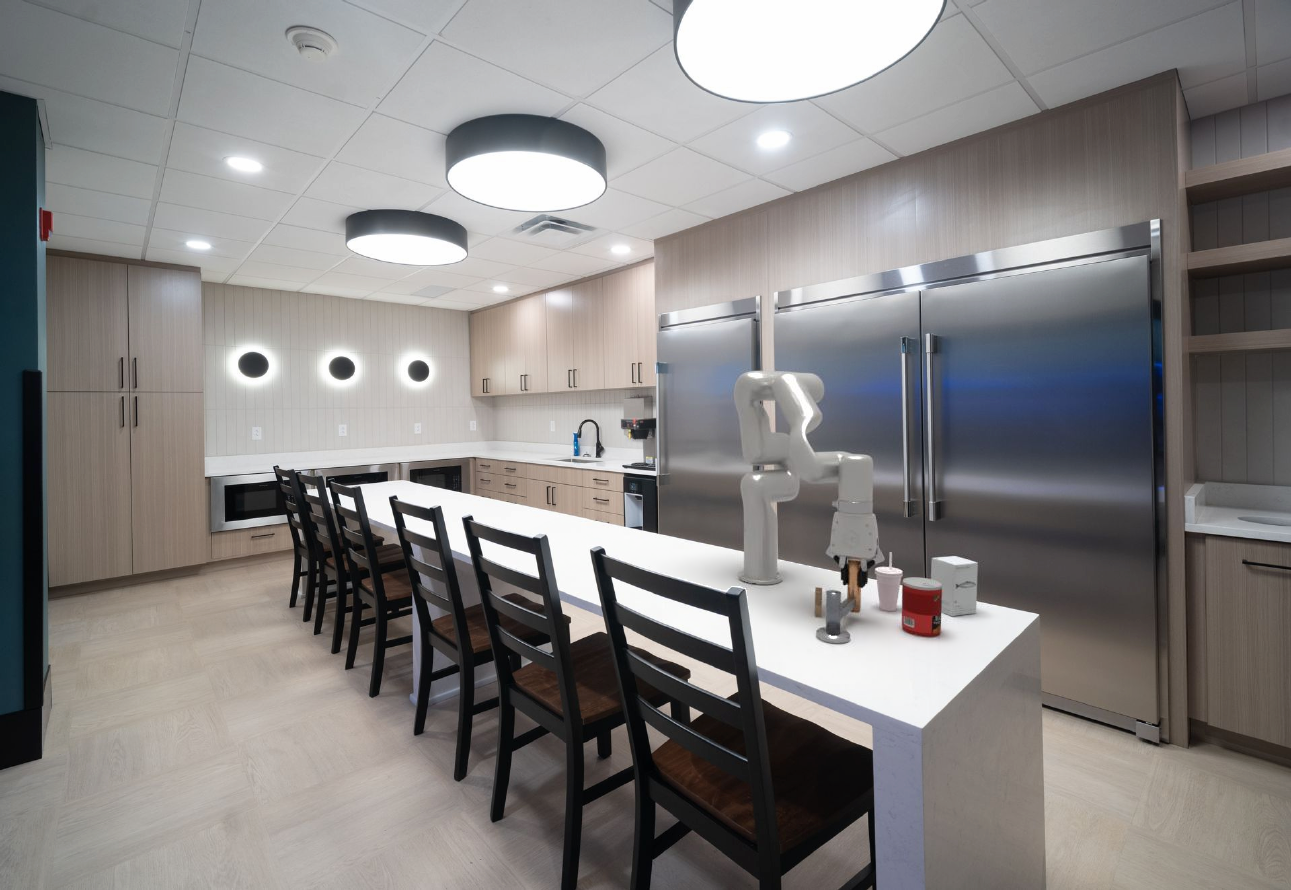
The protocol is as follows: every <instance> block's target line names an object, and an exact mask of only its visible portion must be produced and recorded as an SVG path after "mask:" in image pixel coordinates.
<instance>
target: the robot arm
mask: <svg viewBox="0 0 1291 890" xmlns="http://www.w3.org/2000/svg"><path fill="white" fill-rule="evenodd" d="M824 395H825V384H824V383H823V380H822V379H821V378H820V376H818V375H817V374H815V373H811V372H795V371H794V372H793V371H783V370H779V371H777V370H774V371H773V370H751V371H747V372H743V373H742V374H741V375H739V376H738V378H737V379H736V381H735V384H734V389H733V398H734V399H733V400H734V404H735V408H736V411H737V414H738V418H739V419H738V420H739V428H740V439H741V441H740V442H741V449H742V456H743V459H744V461H745V463H746V464H748V465H749V466H759V467H760V466H773V469H759V470H752V471H749V472H747V473H746V474H744V475H743V476H742V478H741V481H740V486H739V487H740V493H741V499H742V503H743V504H742V506H743V570H741V571H739V573H738V574H737V575H738V579H739V580H740V581H741V582H744V581H745V583H747V582H748V584H752V583H756V584H755V585H763V586H764V585H767V586H768V585H775V584H779V583H781V582H782V581H783V577H784V576H783V575H782V573H780V572H778V516H777V514H776V511H775V510H774V508H773V507H772V503H782V502H789V501H793V500H795V499H796V498H797V496H798V494H799V492H800V485H801V484H800V477H801V479H802V480H803V481H805V482H807V483H808V484H813V485H815V484H817V485H818V484H827V483H831V484H832V483H838V491H837V493H838V496H837V497H838V499H837V500H832V502H831V506H832V507H835V508H837V510H836V511H835V512H834V514H833V518H832V525H831V533H830V540H829V541H830V543H829V546H828V548H827V549H826V551H825V554H826V555H827V556H828V557H830V558H831V559H833V560H834V561H835V562H836V564H837V565H838V568H840V581H842V586H847V581H848V559H849V558H852V559H859V560H861V570H860V571H859V587H860V588H861V589H863V588H864V587H865V586H866V585H867V584H868V582H869V581H868V580H869V569H870V568H872V567H873V566H875V565H878V564H880V563H882V562H884V561H885V559H886V558H885V557H884V554H883V552H882V550H881V549H880V547H879V544H880V543H879V542H880V541H879V529H878V528H879V527H878V523H877V517H876V514H875V513H873V507H874V505H873V500H874V499H873V492H874V487H873V486H874V484H873V483H874V461H873V458H872V457H871V456H870V455H867V454H861V453H859V454H858V453H851V452H847V451H842V450H841V451H816V452H815V451H814V449H813V447H811V444H810V442H809V441H808V438H807V434H809V433H811V432H812V431H814V430H815V429H817V427H818V426H819V425H820V424H821V422H822V420H823V413H822V411H821V410H820V408H819V406H818V405H817V403H819V402H821V401H822V399H823V398H824ZM762 401H763V402H764V401H767V402H769V401H770V402H771V401H772V402H776V403H777V406H778V407H779V409H780V411H781V413H782V415H783V416H784V418H785V420H786V422H787V423H788V425H789V427H790V432H789V434H788V433H785V432H774V431H771V423H770V417H769V414H768V412H767V410H766V409H765V407H764V406H763V405H762V404H761V403H760V402H762Z"/></svg>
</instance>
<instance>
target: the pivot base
mask: <svg viewBox="0 0 1291 890" xmlns="http://www.w3.org/2000/svg"><path fill="white" fill-rule="evenodd" d="M815 637H816V638H817V640H819V641H821V642H823V643H827V644H830V645H831V644H832V645H833V644H834V645H842V644H843V645H844V644H846V643H847V644H848V643H849V642H850V641H851V634H850V632H849V631H848V630H846V629H844V628H840V634H829V633H827V632H826V626H824V627H820V628H818V629H816V633H815Z"/></svg>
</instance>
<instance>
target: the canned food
mask: <svg viewBox="0 0 1291 890" xmlns="http://www.w3.org/2000/svg"><path fill="white" fill-rule="evenodd" d="M901 587H902V589H901V590H902V591H901V594H902V595H901V627H902V629H903V630H904V631H905V632H906V633H909V634H911V635H914V636H918V637H929V638H931V637H937V636H939V635H940V633H941V630H942V612H941V609H942V584H941V583H940V582H938V581H935V580H932V579H931V578H925V577H913V576H912V577H911V576H910V577H906V578H903V579H902V585H901Z"/></svg>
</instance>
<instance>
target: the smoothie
mask: <svg viewBox="0 0 1291 890" xmlns="http://www.w3.org/2000/svg"><path fill="white" fill-rule="evenodd" d="M888 559H889V560H888V561H889V562H888V563H889V565H888V566H879V567H876V568H874V574H875V576H876V585H877V586H876V587H877V594H878V601H879V602H878V603H879V609H880V610H882V611H885V612H895V611H897V606H898V599H899V594H900V587H901V580H902V579H901V578H902V577H904V576H903V575H904V574H903V570H901V569H900V568H896V567H893V565H892V564H893V552H889V557H888Z"/></svg>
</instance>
